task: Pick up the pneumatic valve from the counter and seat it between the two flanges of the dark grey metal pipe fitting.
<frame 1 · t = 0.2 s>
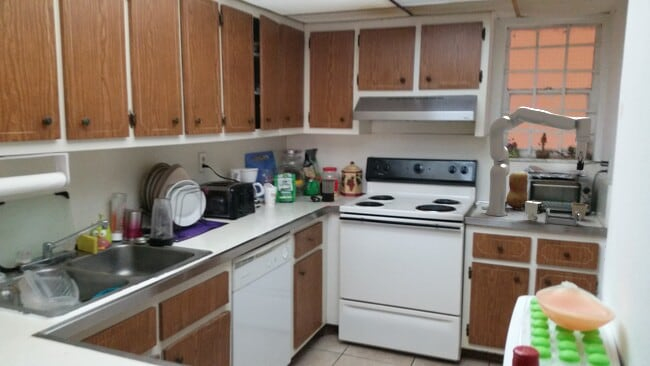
hand: (580, 169, 293), 31 cm above the worktop, tool pointing down, fingers open, 9 cm apart
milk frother: (322, 201, 358), on the worktop
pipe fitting: (561, 222, 295), on the worktop
flower pot: (578, 218, 309), on the worktop
butternut squash: (516, 209, 338), on the worktop
pneumatic valve: (532, 220, 300), on the worktop
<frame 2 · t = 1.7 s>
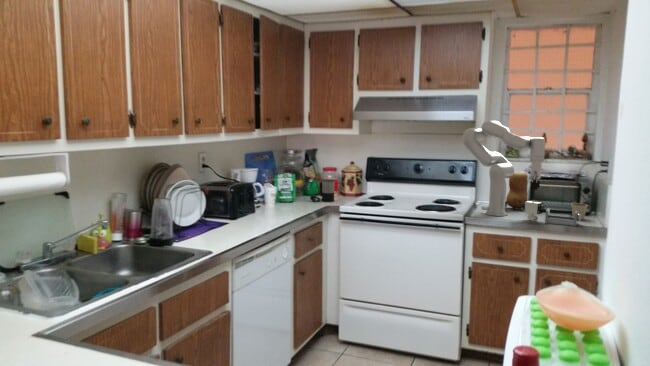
hand: (535, 188, 298), 19 cm above the worktop, tool pointing down, fingers open, 9 cm apart
nothing on the worktop moved.
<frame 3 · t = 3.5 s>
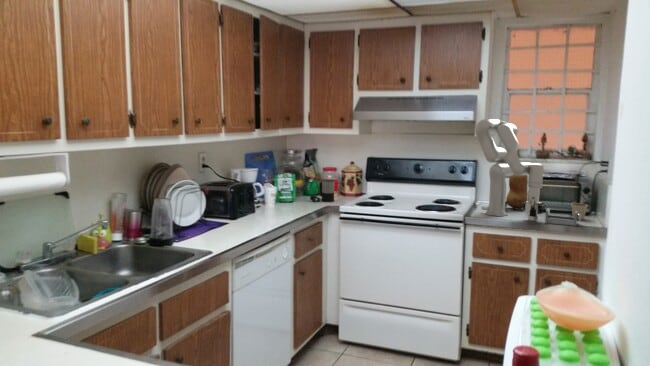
hand: (533, 215, 300), 3 cm above the worktop, tool pointing down, fingers closed on pneumatic valve, 6 cm apart
pneumatic valve: (532, 220, 300), on the worktop, touching gripper
everything else where it was.
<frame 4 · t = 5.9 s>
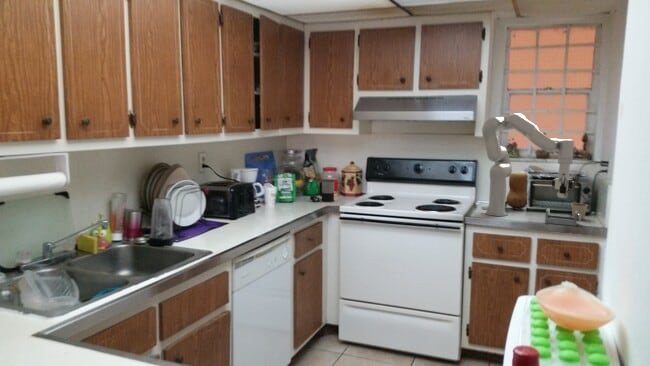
hand: (563, 192, 293), 18 cm above the worktop, tool pointing down, fingers closed on pneumatic valve, 6 cm apart
pneumatic valve: (562, 198, 293), point 14 cm above the worktop, touching gripper
everything else where it was.
when the fingers open (6 cm above the worktop, at t = 8.5 s): pneumatic valve drops 2 cm, resting on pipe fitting.
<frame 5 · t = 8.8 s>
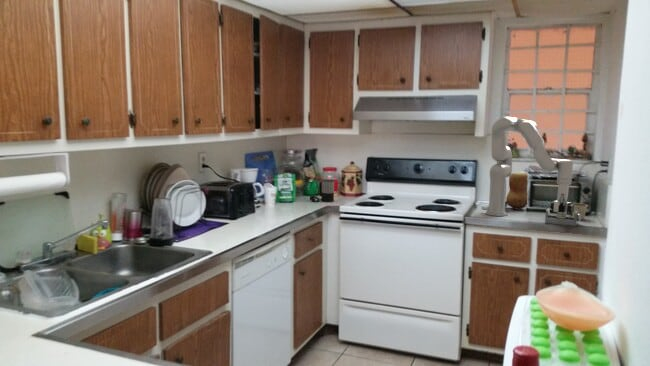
hand: (561, 211, 294), 7 cm above the worktop, tool pointing down, fingers open, 9 cm apart
pneumatic valve: (561, 220, 295), point 1 cm above the worktop, touching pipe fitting
everything else where it was.
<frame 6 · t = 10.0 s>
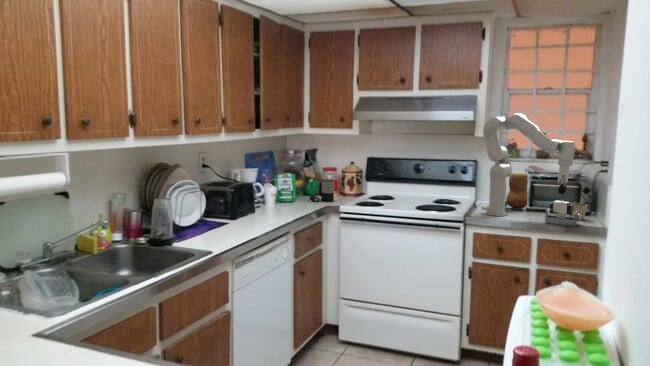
hand: (562, 192, 293), 17 cm above the worktop, tool pointing down, fingers open, 9 cm apart
nothing on the worktop moved.
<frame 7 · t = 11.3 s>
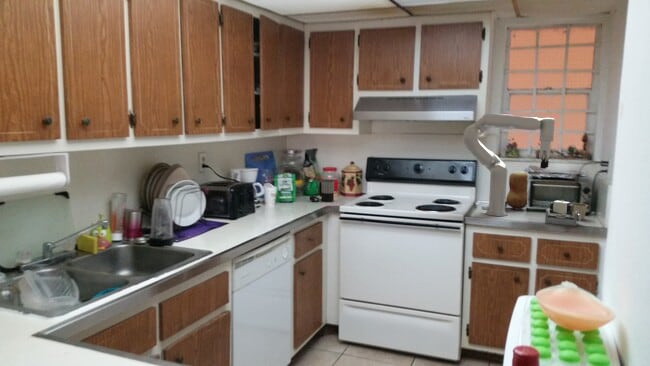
hand: (544, 167, 305), 30 cm above the worktop, tool pointing down, fingers open, 9 cm apart
nothing on the worktop moved.
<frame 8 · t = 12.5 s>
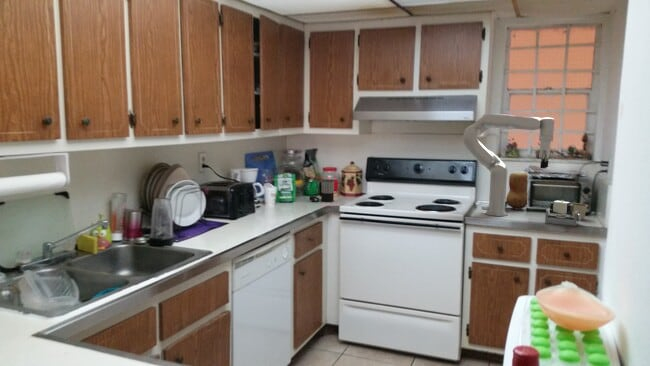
hand: (544, 167, 306), 30 cm above the worktop, tool pointing down, fingers open, 9 cm apart
nothing on the worktop moved.
at the end: pneumatic valve 0.4 cm off-centre on the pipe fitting, point 1.1 cm above the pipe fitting's base; pneumatic valve tilted 0°; the gripper is holding nothing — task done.
